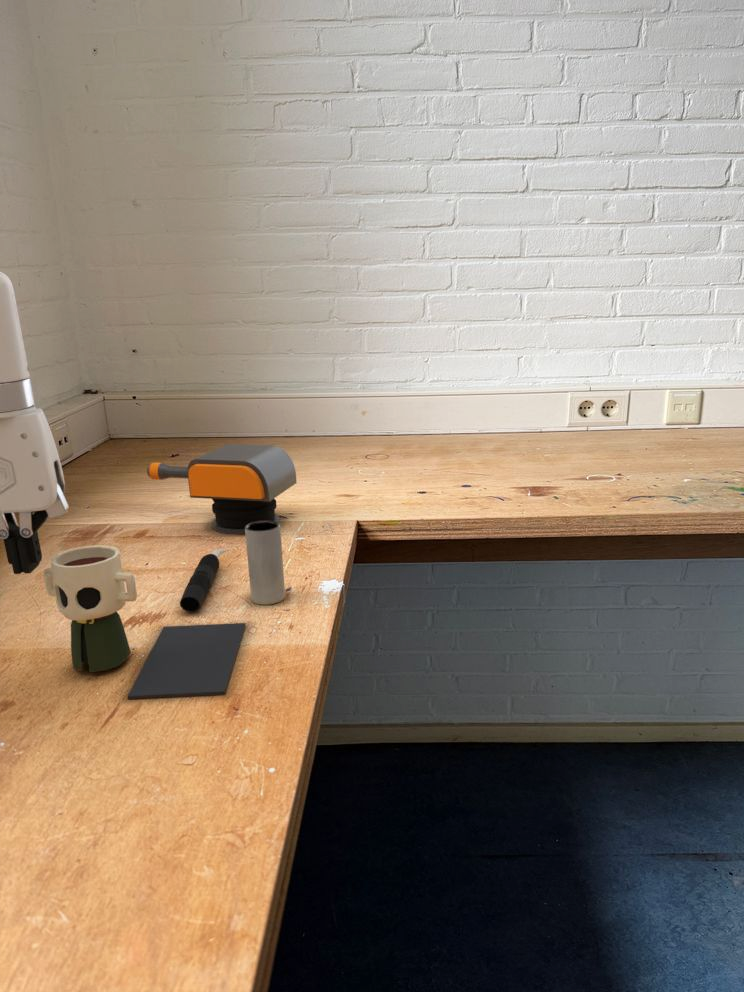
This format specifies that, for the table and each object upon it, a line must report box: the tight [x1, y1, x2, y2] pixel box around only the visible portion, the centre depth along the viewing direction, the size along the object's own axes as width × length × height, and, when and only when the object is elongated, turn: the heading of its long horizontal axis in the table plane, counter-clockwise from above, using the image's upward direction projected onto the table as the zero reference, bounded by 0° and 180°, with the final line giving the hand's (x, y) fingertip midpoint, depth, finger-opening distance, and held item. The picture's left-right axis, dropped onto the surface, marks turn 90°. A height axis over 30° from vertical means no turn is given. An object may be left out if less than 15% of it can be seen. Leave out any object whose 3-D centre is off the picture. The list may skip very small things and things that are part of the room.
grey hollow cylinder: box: [244, 521, 286, 606], centre depth 106 cm, size 4×4×10 cm
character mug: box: [43, 544, 138, 673], centre depth 88 cm, size 11×7×13 cm, turn 78°
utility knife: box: [179, 548, 234, 613], centre depth 112 cm, size 22×4×3 cm, turn 4°
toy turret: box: [146, 443, 297, 535], centre depth 139 cm, size 15×25×13 cm, turn 76°
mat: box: [126, 622, 247, 700], centre depth 91 cm, size 10×17×1 cm, turn 4°
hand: (27, 568), depth 86 cm, fingers closed
